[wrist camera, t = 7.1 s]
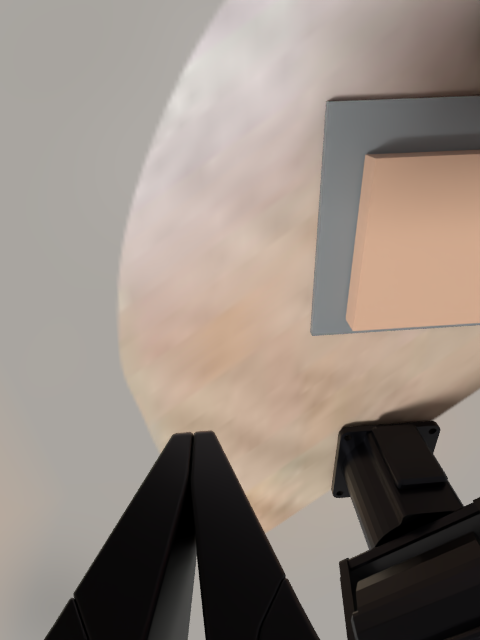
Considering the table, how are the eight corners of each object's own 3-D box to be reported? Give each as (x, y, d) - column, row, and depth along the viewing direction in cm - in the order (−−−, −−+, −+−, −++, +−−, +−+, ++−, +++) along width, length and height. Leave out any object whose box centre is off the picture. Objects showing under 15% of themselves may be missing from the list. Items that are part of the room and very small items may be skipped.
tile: (344, 317, 21) (473, 309, 21) (352, 331, 19) (489, 322, 20) (364, 153, 17) (523, 146, 17) (375, 158, 15) (546, 150, 16)
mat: (487, 320, 22) (492, 324, 21) (310, 332, 21) (312, 335, 21) (562, 92, 16) (570, 92, 16) (326, 101, 16) (328, 101, 16)
